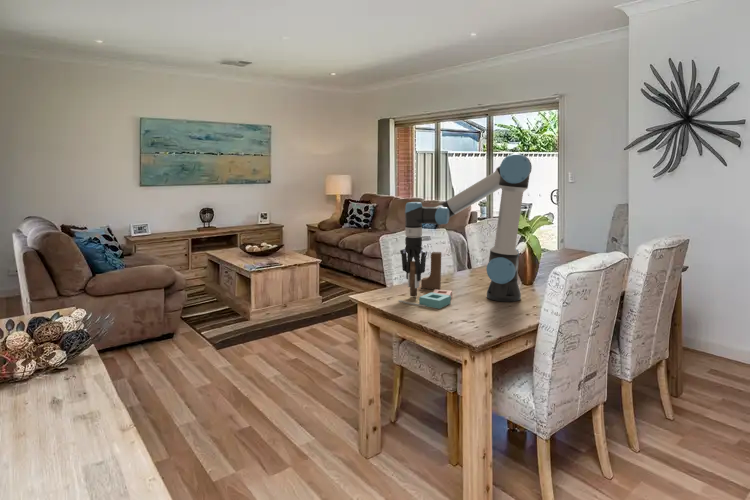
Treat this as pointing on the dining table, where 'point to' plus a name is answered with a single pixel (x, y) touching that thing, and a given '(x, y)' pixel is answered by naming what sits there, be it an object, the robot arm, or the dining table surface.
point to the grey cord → (412, 303)
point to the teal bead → (435, 300)
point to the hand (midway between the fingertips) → (413, 286)
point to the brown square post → (412, 279)
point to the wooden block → (433, 273)
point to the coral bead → (443, 292)
